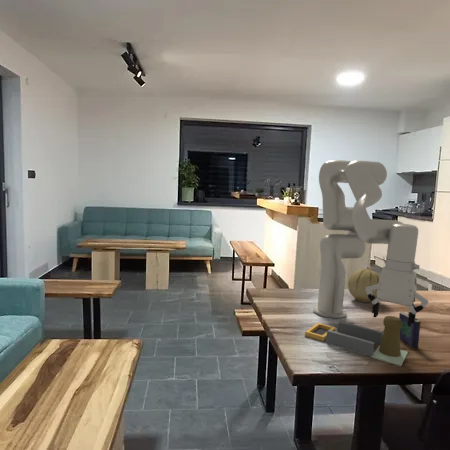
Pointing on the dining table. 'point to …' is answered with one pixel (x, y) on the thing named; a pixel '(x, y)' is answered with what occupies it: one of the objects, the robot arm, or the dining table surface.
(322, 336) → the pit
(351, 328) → the grey parallel walls
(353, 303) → the dining table surface
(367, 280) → the cantaloupe
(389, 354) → the cork
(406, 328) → the flask
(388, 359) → the mat
